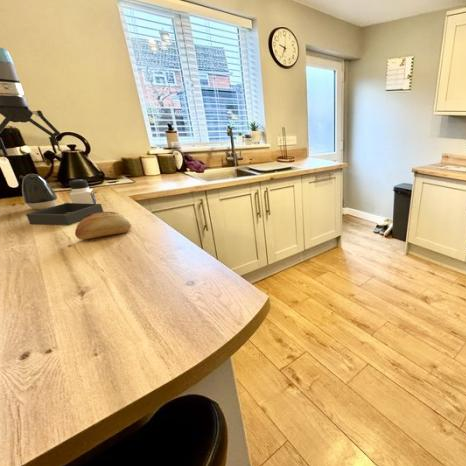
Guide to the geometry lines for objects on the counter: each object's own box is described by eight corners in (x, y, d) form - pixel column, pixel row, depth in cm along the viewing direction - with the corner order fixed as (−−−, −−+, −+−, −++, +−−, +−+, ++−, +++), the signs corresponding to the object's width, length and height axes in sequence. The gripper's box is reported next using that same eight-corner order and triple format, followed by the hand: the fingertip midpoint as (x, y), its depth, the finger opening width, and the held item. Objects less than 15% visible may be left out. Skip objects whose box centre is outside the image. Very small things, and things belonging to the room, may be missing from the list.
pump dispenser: (44, 204, 134) (31, 171, 128) (66, 205, 133) (54, 172, 128) (20, 211, 124) (5, 175, 119) (43, 211, 124) (29, 176, 118)
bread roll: (75, 237, 98) (67, 215, 95) (128, 226, 108) (122, 206, 105) (79, 245, 92) (71, 222, 89) (135, 233, 102) (129, 211, 99)
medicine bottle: (95, 207, 131) (86, 180, 126) (74, 209, 127) (64, 182, 123) (97, 203, 136) (89, 178, 132) (77, 205, 133) (68, 179, 128)
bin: (30, 224, 110) (25, 214, 108) (69, 211, 124) (66, 202, 123) (68, 225, 109) (64, 215, 107) (103, 212, 123) (100, 203, 122)
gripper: (-48, 92, 95) (-19, 157, 103) (56, 97, 111) (74, 153, 119) (-42, 93, 100) (-15, 155, 108) (56, 98, 117) (74, 152, 124)
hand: (32, 154), depth 114 cm, fingers open, 13 cm apart
